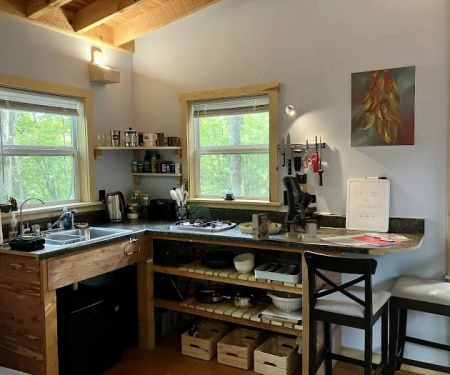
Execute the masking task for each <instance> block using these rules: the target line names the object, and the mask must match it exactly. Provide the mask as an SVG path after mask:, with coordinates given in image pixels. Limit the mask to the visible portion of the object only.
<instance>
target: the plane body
mask: <svg viewBox="0 0 450 375" xmlns="http://www.w3.org/2000/svg"><path fill="white" fill-rule="evenodd" d="M300 241H301V240H300V234H299V232H294V225H290V232H286V233H285V242H286V243H288V242H289V243H300Z"/></svg>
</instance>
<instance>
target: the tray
mask: <svg viewBox="0 0 450 375" xmlns="http://www.w3.org/2000/svg"><path fill="white" fill-rule="evenodd" d="M301 239H302V242H303V243H305V242H306V243H307V242H308V243H309V242H310V243H321V240H322V238H321V236H320V235H317V234H316V238H306V234H302V235H301Z"/></svg>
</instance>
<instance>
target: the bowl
mask: <svg viewBox="0 0 450 375" xmlns="http://www.w3.org/2000/svg"><path fill="white" fill-rule="evenodd" d="M238 228H239V230H240V232H241V233H243V234H247V235H253V221H251V222H250V221H249V222H243V223H240V224H239V225H238ZM281 229H282V224H281V223H276V222H272V220H270V219H269V235H275V234H278V233H279V232H281ZM274 233H275V234H274Z"/></svg>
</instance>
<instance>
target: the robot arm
mask: <svg viewBox="0 0 450 375" xmlns="http://www.w3.org/2000/svg"><path fill="white" fill-rule="evenodd" d="M282 184H283V187H284V188H285V189H286V198H287V199H286V200H287V206H288V207H287V211H286V212H285V213H286V215H285V218H284V223H285V224H287V226H286V230H285V232H286V233H290V225H294V233H297V232H298V230H297V229H296V225H297V226H299V228H301V229H303V231H306V225H305V223H304V221H306V222H307V221H309V222H310V221H314V222H315V224H316V229H317V230H318V231H320V225H321V223H322V222H323V220H324V218H325V217H324V215H323V213H321V214H319V213H318V214H316V215H315V216H314V213H316V212H318V208H317V206H310V205H311V203H312V201H313V199H314V196H313V195H312V194H311V193H309V192H308V191H307V192H304V191H303V190H302V187H301V185H300V182H299V180H298V177H297V176H294V175H286V176H285V175H284V177H282ZM295 203H296V204H298V209H299V210H300V212H301V213H300V214H299V211H298V209H296V204H295Z"/></svg>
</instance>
